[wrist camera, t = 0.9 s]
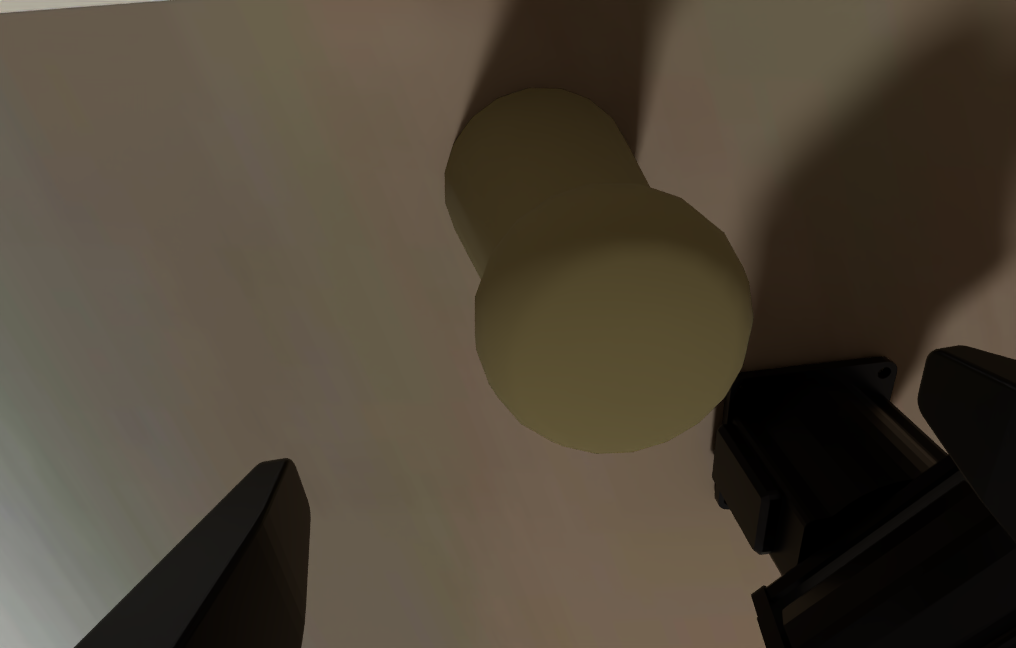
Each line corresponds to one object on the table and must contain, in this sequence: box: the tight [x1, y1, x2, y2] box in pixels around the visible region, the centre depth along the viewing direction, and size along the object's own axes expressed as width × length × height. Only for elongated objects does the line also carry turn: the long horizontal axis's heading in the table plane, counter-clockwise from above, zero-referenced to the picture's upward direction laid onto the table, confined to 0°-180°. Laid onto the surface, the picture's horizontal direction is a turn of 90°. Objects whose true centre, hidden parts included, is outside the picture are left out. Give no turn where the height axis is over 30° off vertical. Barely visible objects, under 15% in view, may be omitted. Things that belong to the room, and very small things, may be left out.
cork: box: [445, 88, 753, 454], centre depth 16 cm, size 6×6×11 cm
